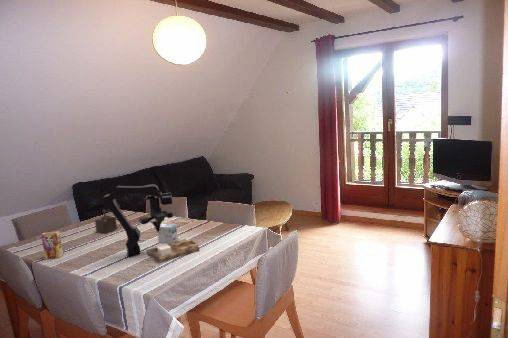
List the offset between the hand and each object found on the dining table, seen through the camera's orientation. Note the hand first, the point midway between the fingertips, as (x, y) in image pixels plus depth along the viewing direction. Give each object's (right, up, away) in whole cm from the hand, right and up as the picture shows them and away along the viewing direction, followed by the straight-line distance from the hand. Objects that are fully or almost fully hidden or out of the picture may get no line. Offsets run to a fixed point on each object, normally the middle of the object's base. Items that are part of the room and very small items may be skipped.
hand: (157, 231), depth 211 cm
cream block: (+6, -11, -8) cm, 15 cm away
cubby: (+17, -9, -1) cm, 19 cm away
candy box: (-63, -16, +3) cm, 65 cm away
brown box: (-48, -7, +48) cm, 68 cm away
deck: (+9, -12, -1) cm, 15 cm away
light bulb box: (+2, -9, +17) cm, 20 cm away
